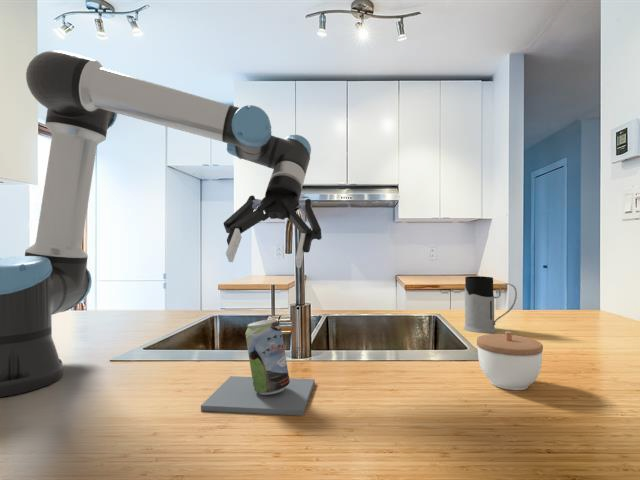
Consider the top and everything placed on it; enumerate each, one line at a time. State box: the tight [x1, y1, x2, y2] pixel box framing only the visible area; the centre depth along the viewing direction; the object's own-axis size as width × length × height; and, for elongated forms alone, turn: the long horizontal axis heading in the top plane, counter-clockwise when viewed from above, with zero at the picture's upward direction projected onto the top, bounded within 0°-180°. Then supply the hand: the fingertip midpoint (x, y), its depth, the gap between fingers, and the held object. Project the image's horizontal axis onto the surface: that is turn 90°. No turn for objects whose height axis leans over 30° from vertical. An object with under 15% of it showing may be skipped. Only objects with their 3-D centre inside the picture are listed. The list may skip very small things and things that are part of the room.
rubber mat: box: [200, 375, 316, 417], centre depth 66 cm, size 16×13×1 cm
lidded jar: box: [476, 331, 544, 391], centre depth 70 cm, size 11×11×9 cm
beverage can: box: [245, 318, 290, 395], centre depth 65 cm, size 6×7×12 cm
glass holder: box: [463, 275, 518, 334], centre depth 111 cm, size 9×14×15 cm, turn 54°
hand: (263, 260), depth 74 cm, fingers open, 13 cm apart
